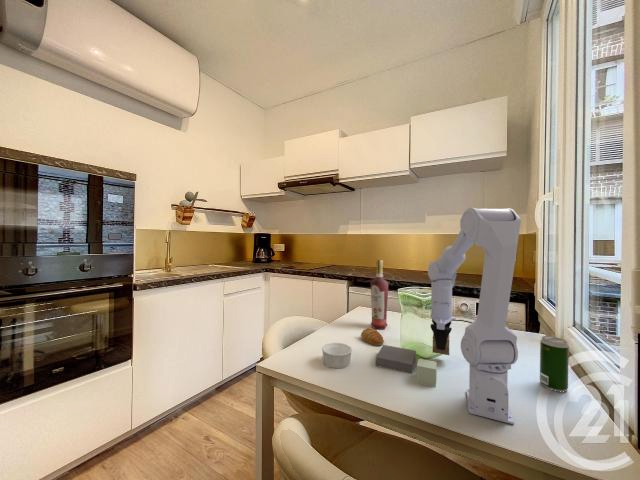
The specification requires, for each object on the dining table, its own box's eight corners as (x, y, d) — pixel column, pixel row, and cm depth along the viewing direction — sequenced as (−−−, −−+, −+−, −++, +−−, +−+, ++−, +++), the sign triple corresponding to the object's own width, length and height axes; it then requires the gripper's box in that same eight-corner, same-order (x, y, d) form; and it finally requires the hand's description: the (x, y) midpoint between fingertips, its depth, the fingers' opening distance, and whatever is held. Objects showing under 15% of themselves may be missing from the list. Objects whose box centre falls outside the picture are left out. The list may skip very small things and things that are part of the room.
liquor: (391, 327, 112) (392, 260, 112) (382, 331, 107) (382, 261, 106) (376, 323, 117) (376, 259, 117) (366, 327, 112) (367, 260, 111)
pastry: (388, 345, 93) (388, 334, 93) (371, 348, 91) (371, 337, 91) (374, 336, 102) (374, 326, 102) (358, 338, 100) (358, 328, 100)
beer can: (556, 394, 64) (557, 344, 64) (534, 382, 70) (535, 336, 70) (573, 391, 66) (574, 342, 65) (550, 380, 71) (551, 334, 71)
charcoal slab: (411, 375, 74) (411, 364, 74) (375, 367, 78) (375, 357, 78) (415, 360, 83) (415, 350, 83) (383, 354, 87) (383, 344, 87)
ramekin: (357, 362, 80) (357, 348, 80) (338, 373, 74) (339, 357, 74) (334, 353, 86) (335, 340, 86) (315, 362, 80) (315, 348, 80)
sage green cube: (435, 387, 67) (436, 369, 67) (416, 383, 69) (417, 365, 69) (436, 378, 71) (436, 362, 71) (418, 375, 73) (418, 358, 73)
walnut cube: (449, 355, 78) (449, 340, 78) (432, 352, 80) (432, 337, 80) (449, 349, 83) (449, 335, 82) (433, 347, 84) (433, 332, 84)
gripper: (456, 308, 73) (456, 358, 73) (455, 298, 86) (455, 340, 86) (429, 305, 76) (428, 353, 76) (431, 296, 89) (431, 336, 89)
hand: (441, 346), depth 81 cm, fingers closed on walnut cube, 4 cm apart
